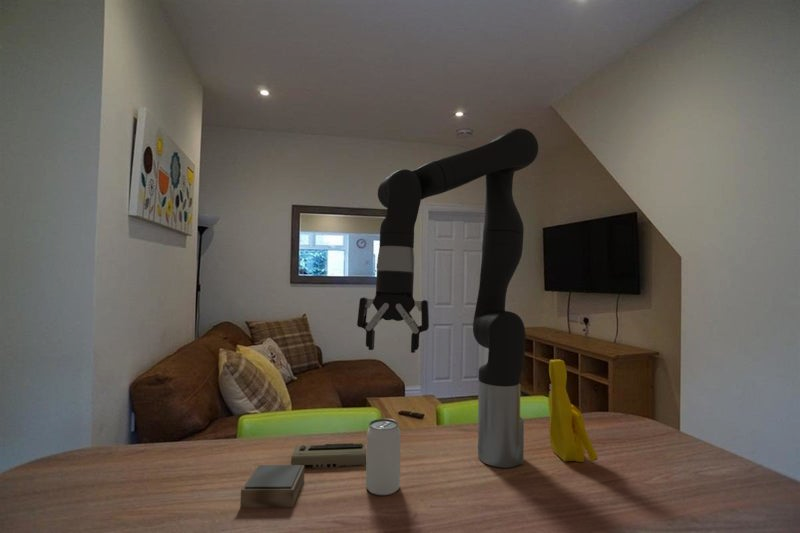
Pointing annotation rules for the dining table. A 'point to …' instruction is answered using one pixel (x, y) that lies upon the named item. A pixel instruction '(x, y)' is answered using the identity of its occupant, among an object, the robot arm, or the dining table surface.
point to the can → (383, 457)
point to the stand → (273, 486)
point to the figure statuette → (566, 419)
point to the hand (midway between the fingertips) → (391, 350)
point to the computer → (329, 455)
